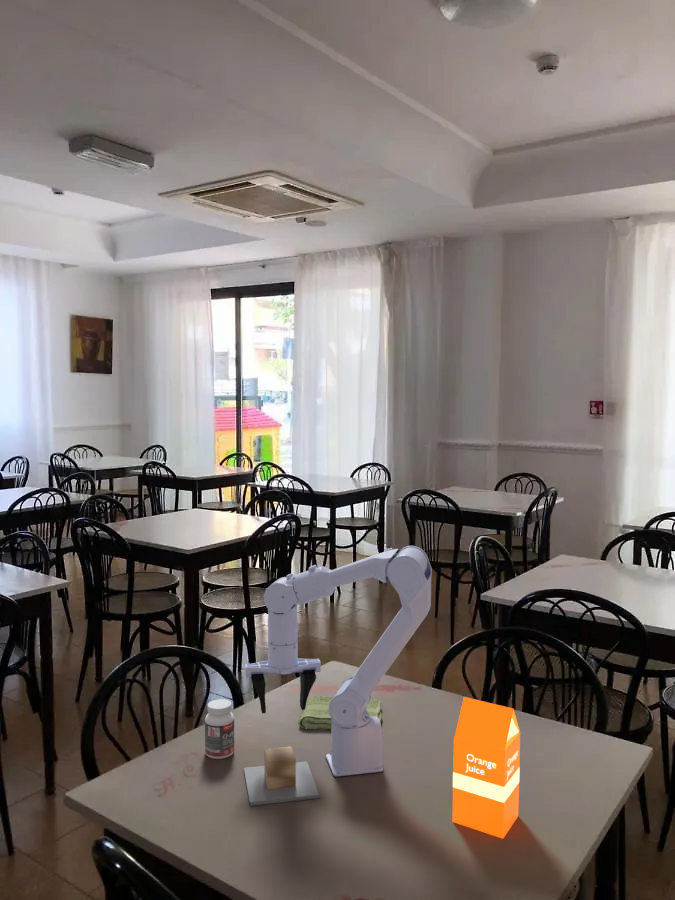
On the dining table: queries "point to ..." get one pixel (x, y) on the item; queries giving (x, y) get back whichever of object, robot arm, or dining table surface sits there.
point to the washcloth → (319, 712)
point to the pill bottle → (219, 729)
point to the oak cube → (279, 767)
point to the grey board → (263, 795)
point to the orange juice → (486, 767)
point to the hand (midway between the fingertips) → (283, 709)
